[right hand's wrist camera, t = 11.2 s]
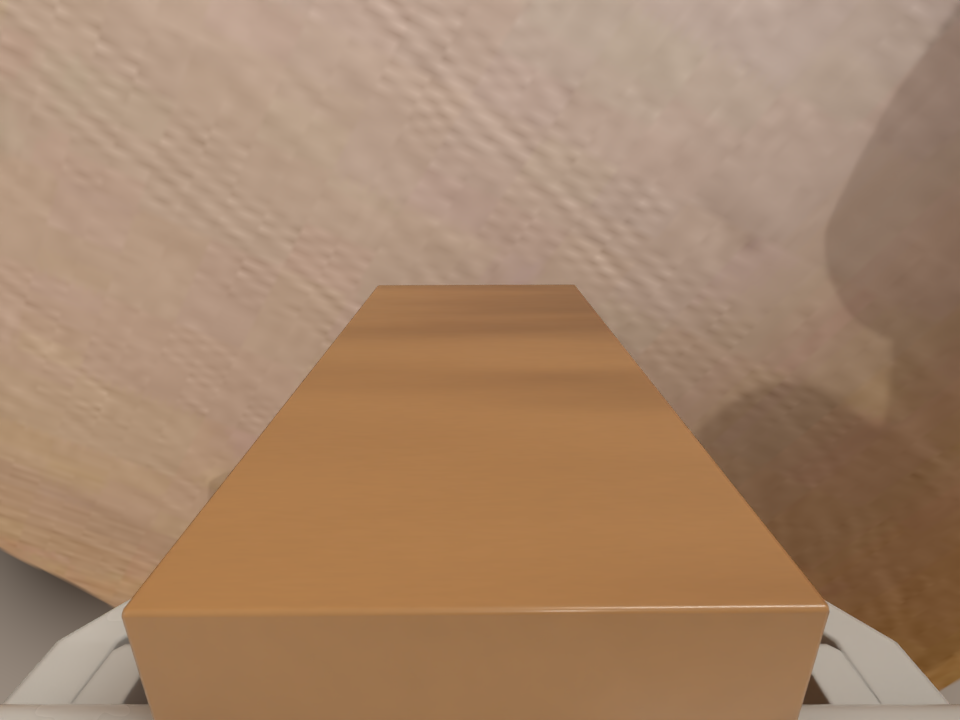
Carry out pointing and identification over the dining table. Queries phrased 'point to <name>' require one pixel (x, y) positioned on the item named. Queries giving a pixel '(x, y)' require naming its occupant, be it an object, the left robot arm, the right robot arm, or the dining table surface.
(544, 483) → the box
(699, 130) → the dining table surface
